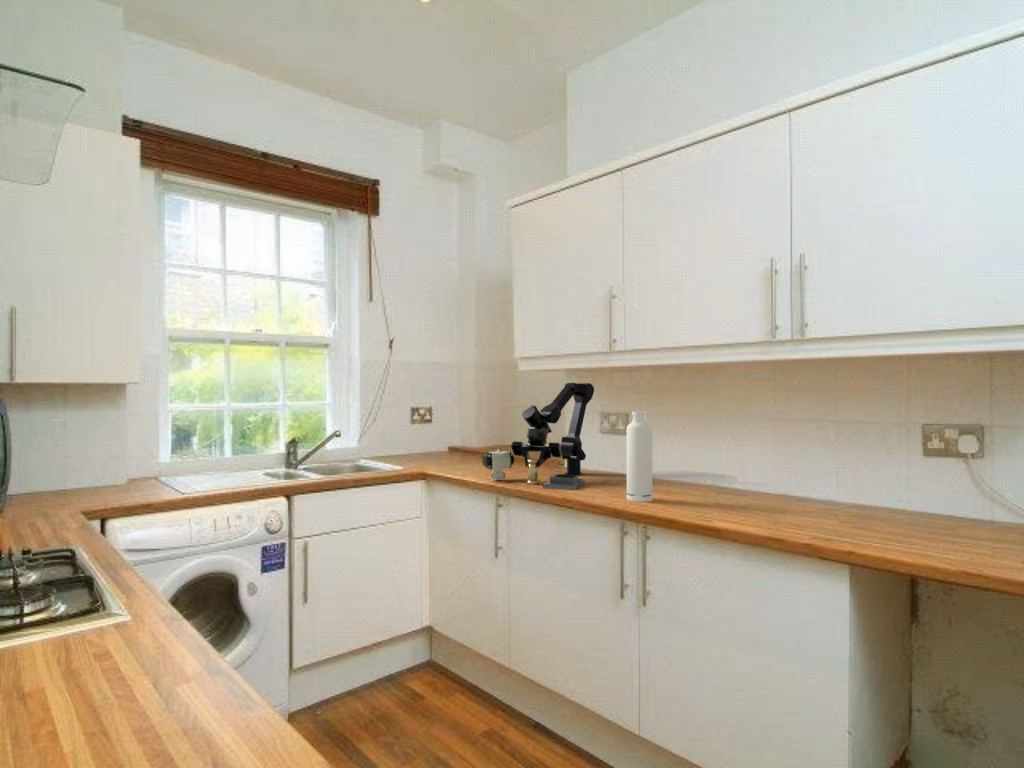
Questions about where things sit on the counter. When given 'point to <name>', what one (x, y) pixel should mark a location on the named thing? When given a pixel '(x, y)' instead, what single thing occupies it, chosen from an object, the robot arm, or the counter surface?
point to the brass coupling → (532, 471)
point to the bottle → (639, 459)
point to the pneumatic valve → (498, 463)
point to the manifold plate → (564, 482)
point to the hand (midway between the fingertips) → (531, 466)
